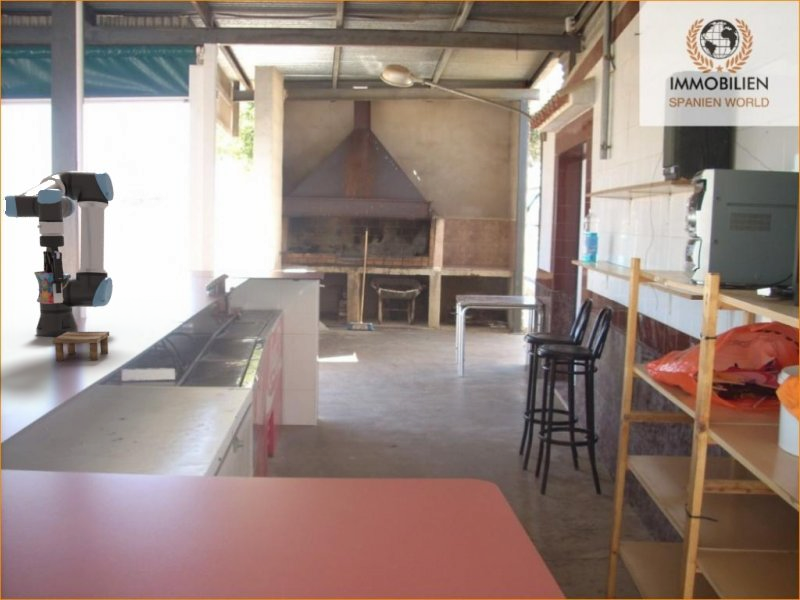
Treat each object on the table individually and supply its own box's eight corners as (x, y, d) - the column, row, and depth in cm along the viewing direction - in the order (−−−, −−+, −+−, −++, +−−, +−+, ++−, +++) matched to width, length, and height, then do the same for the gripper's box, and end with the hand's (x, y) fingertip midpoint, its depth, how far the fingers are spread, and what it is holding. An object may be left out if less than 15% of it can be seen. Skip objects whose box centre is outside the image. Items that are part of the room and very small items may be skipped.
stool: (68, 352, 264) (67, 331, 263) (110, 352, 265) (109, 331, 264) (53, 361, 250) (52, 339, 250) (97, 360, 252) (96, 338, 251)
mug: (46, 305, 254) (45, 273, 253) (29, 303, 259) (28, 272, 258) (78, 301, 264) (77, 271, 263) (61, 300, 269) (59, 270, 268)
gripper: (31, 234, 265) (34, 299, 267) (48, 235, 248) (51, 305, 251) (54, 234, 269) (57, 298, 272) (72, 235, 253) (75, 303, 255)
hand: (54, 301), depth 261 cm, fingers closed on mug, 8 cm apart
